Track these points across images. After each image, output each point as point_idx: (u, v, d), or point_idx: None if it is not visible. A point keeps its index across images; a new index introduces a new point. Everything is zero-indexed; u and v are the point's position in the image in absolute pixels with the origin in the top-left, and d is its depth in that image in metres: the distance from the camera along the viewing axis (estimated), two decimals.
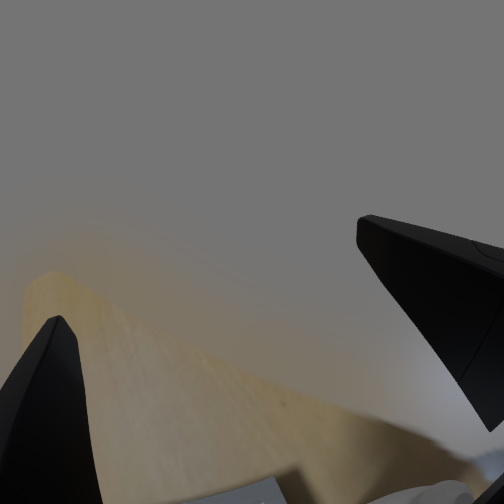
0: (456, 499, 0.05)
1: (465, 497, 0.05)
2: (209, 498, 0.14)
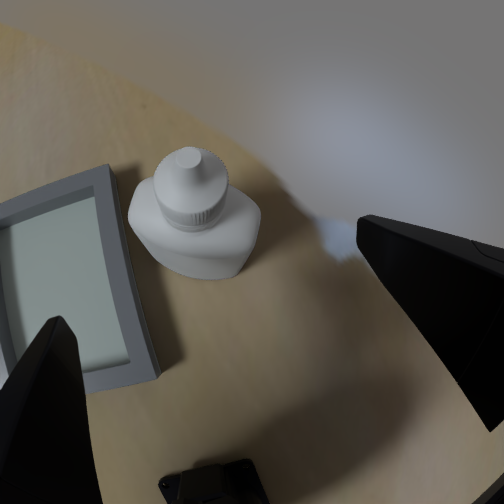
0: (181, 150, 0.08)
1: (192, 152, 0.08)
2: (52, 184, 0.17)
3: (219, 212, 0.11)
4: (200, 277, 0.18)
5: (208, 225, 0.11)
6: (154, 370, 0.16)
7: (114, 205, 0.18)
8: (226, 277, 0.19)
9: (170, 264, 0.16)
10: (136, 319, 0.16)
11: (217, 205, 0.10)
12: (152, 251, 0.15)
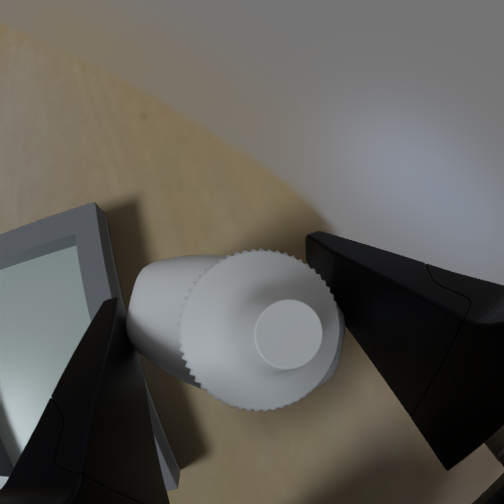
0: (267, 312, 0.03)
1: (299, 320, 0.03)
2: (21, 229, 0.12)
3: None
4: None
5: None
6: (174, 478, 0.11)
7: (105, 265, 0.13)
8: None
9: None
10: None
11: None
12: None
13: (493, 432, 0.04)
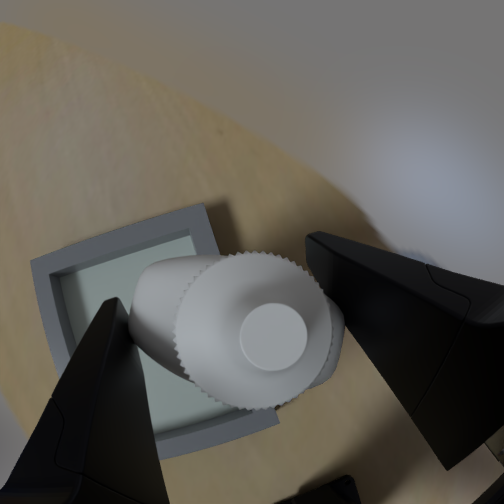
0: (253, 315, 0.03)
1: (284, 323, 0.03)
2: (134, 225, 0.17)
3: None
4: None
5: None
6: (276, 415, 0.16)
7: None
8: None
9: None
10: None
11: None
12: None
13: (493, 432, 0.04)
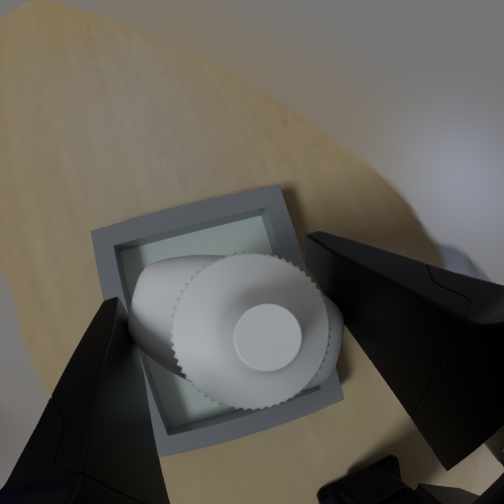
0: (247, 316, 0.03)
1: (278, 324, 0.03)
2: (211, 200, 0.18)
3: None
4: None
5: None
6: (341, 391, 0.17)
7: None
8: None
9: None
10: None
11: None
12: None
13: (493, 432, 0.04)
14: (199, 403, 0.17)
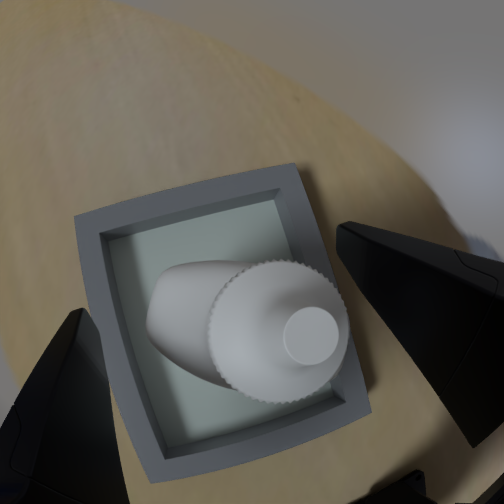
0: (294, 317, 0.04)
1: (320, 324, 0.04)
2: (216, 180, 0.15)
3: None
4: None
5: None
6: (368, 404, 0.14)
7: None
8: None
9: None
10: (353, 352, 0.14)
11: None
12: None
13: None
14: (201, 421, 0.14)
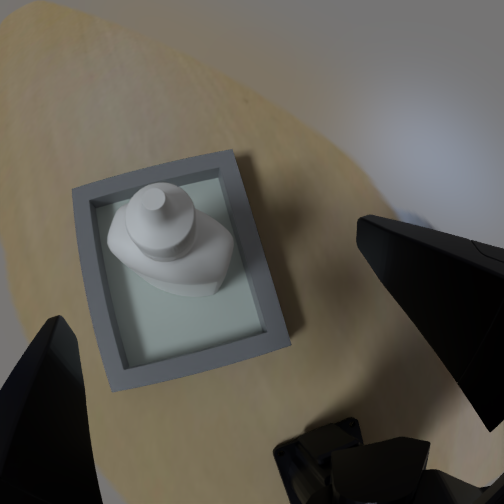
0: (147, 191, 0.09)
1: (157, 194, 0.09)
2: (172, 162, 0.20)
3: (188, 245, 0.11)
4: (180, 294, 0.19)
5: (178, 256, 0.11)
6: (288, 337, 0.19)
7: None
8: (205, 295, 0.19)
9: (150, 282, 0.17)
10: (272, 291, 0.19)
11: (184, 241, 0.10)
12: None
13: None
14: (155, 344, 0.19)
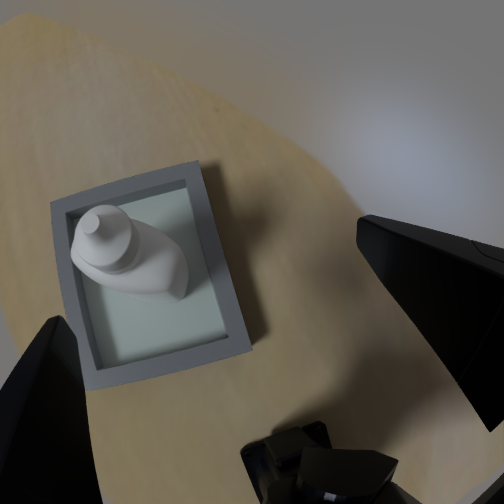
0: (84, 216, 0.09)
1: (93, 219, 0.09)
2: (141, 175, 0.21)
3: (131, 260, 0.12)
4: (147, 301, 0.19)
5: (124, 270, 0.12)
6: None
7: (207, 197, 0.21)
8: (171, 301, 0.20)
9: None
10: (234, 298, 0.20)
11: (123, 257, 0.11)
12: None
13: None
14: (127, 347, 0.20)
